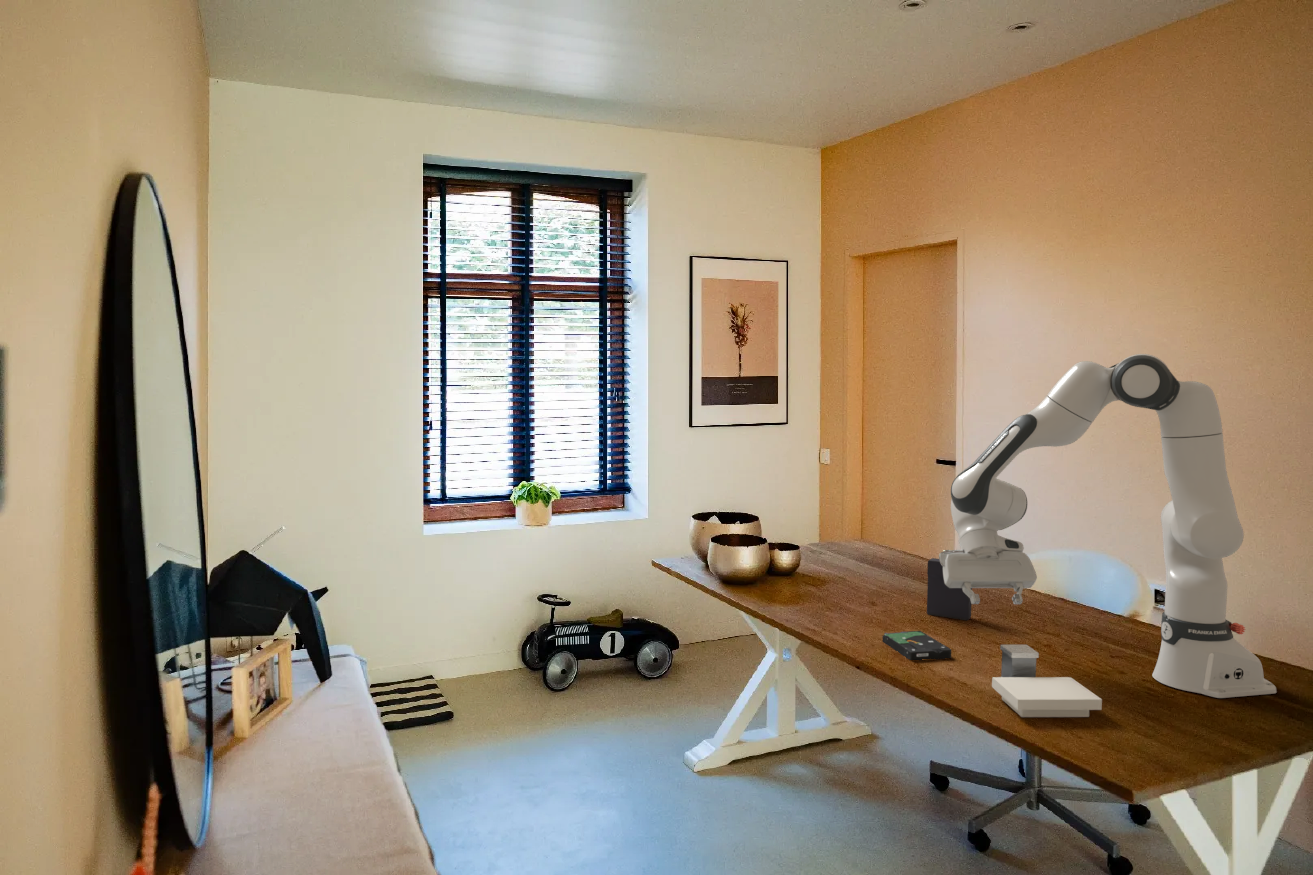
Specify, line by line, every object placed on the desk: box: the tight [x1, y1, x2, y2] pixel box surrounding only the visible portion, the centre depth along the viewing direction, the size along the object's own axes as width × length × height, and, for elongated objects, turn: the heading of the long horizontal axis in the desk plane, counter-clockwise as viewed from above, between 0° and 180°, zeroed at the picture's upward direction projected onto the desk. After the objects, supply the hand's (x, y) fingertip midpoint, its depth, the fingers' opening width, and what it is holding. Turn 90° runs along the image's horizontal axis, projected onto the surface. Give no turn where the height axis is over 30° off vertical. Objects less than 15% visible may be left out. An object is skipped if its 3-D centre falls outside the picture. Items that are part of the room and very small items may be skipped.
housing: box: [999, 644, 1040, 677], centre depth 183 cm, size 6×6×8 cm
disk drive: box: [881, 630, 952, 661], centre depth 207 cm, size 10×3×15 cm
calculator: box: [926, 557, 973, 621], centre depth 235 cm, size 11×4×15 cm, turn 58°
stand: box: [991, 676, 1103, 718], centre depth 171 cm, size 16×12×4 cm
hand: (997, 602), depth 194 cm, fingers open, 8 cm apart
